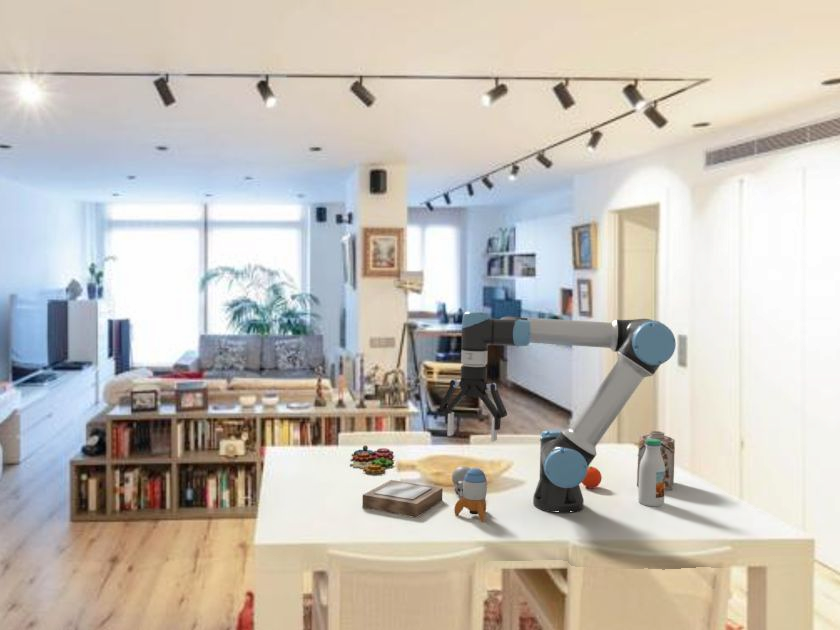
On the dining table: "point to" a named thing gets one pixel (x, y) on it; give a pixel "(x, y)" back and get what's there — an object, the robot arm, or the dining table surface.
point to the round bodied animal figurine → (459, 479)
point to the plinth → (402, 498)
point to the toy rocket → (473, 493)
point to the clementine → (592, 477)
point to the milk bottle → (652, 475)
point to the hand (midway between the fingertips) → (471, 438)
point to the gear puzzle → (373, 460)
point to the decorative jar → (666, 453)
